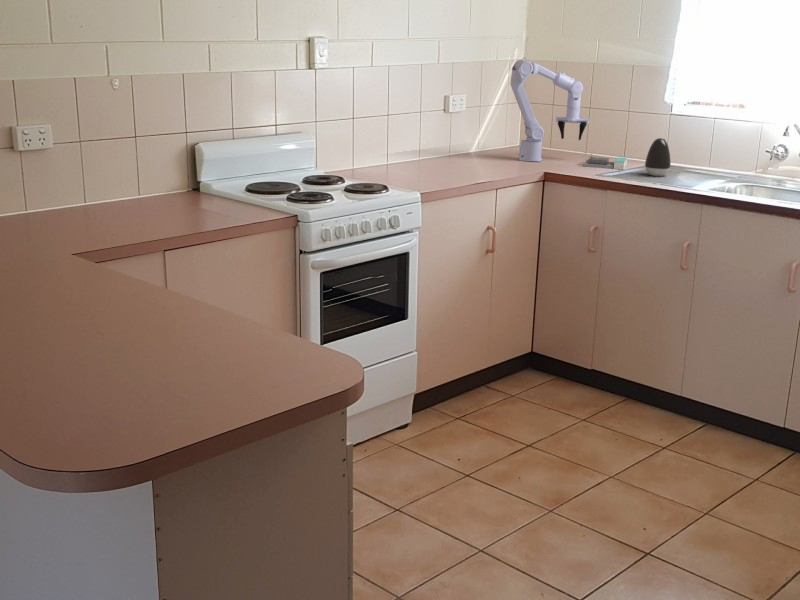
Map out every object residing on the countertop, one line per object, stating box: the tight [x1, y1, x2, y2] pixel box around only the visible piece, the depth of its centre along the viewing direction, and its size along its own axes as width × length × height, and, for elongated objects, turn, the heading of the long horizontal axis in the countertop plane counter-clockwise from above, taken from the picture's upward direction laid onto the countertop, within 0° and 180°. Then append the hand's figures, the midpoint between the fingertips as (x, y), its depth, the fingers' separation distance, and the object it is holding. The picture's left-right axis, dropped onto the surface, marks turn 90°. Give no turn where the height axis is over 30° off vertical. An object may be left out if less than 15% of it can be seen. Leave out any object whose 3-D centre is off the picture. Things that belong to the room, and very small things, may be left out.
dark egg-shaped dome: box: [644, 137, 672, 177], centre depth 383 cm, size 10×10×15 cm
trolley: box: [587, 153, 610, 165], centre depth 405 cm, size 8×7×4 cm
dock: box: [581, 157, 628, 170], centre depth 404 cm, size 18×12×3 cm
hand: (571, 139), depth 415 cm, fingers open, 7 cm apart
